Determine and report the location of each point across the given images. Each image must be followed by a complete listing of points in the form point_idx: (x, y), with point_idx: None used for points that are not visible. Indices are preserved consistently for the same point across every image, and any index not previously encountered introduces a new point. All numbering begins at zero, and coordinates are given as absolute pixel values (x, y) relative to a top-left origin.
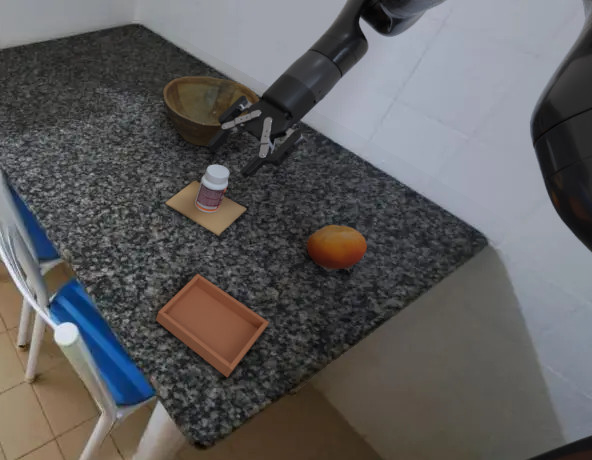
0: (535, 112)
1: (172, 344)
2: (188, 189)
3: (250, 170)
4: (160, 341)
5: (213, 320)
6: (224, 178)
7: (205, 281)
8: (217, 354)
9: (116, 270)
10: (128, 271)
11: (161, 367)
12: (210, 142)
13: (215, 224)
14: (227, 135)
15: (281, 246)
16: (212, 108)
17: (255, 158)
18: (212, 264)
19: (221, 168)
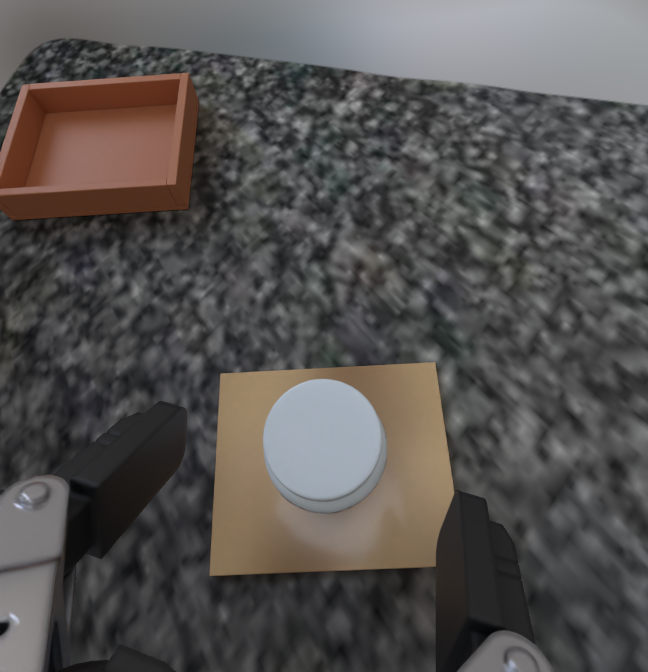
0: None
1: None
2: (436, 486)
3: (122, 426)
4: None
5: (105, 163)
6: (268, 415)
7: (148, 179)
8: (54, 85)
9: (337, 120)
10: (317, 134)
11: (142, 61)
12: (486, 511)
13: (252, 403)
14: (446, 655)
15: None
16: None
17: (95, 467)
18: (182, 279)
19: (323, 469)
